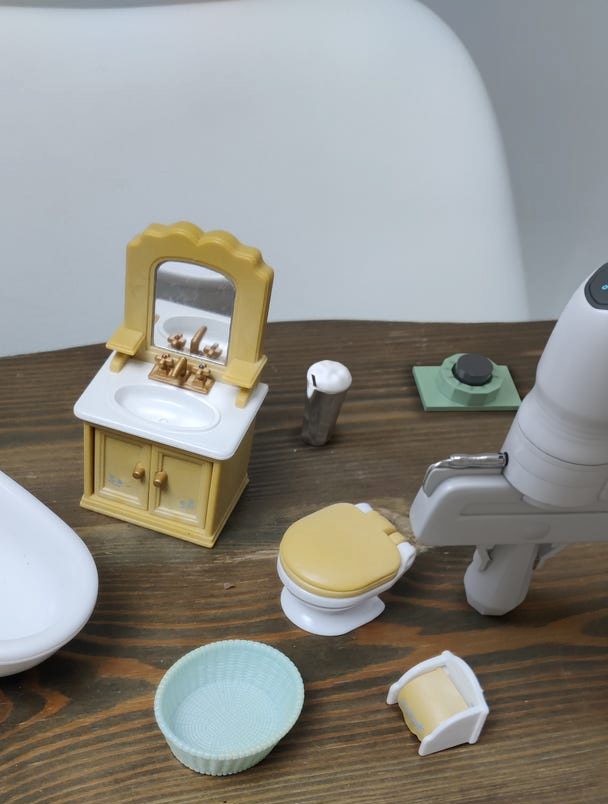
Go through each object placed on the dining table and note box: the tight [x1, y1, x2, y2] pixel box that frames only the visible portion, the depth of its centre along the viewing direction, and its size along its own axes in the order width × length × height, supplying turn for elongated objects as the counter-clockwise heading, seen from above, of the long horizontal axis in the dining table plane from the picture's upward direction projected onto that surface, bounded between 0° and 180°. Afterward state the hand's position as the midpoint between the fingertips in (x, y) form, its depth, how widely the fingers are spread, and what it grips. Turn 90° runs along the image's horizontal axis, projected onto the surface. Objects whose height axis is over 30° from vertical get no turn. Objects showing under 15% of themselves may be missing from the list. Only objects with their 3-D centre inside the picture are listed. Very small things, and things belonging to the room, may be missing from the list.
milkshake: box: [300, 359, 353, 447], centre depth 103 cm, size 4×5×10 cm
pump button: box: [454, 352, 493, 386], centre depth 110 cm, size 4×4×2 cm
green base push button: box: [411, 352, 522, 412], centre depth 111 cm, size 11×7×2 cm, turn 92°
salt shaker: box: [463, 523, 550, 616], centre depth 88 cm, size 6×6×13 cm
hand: (505, 564), depth 90 cm, fingers closed on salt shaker, 3 cm apart
